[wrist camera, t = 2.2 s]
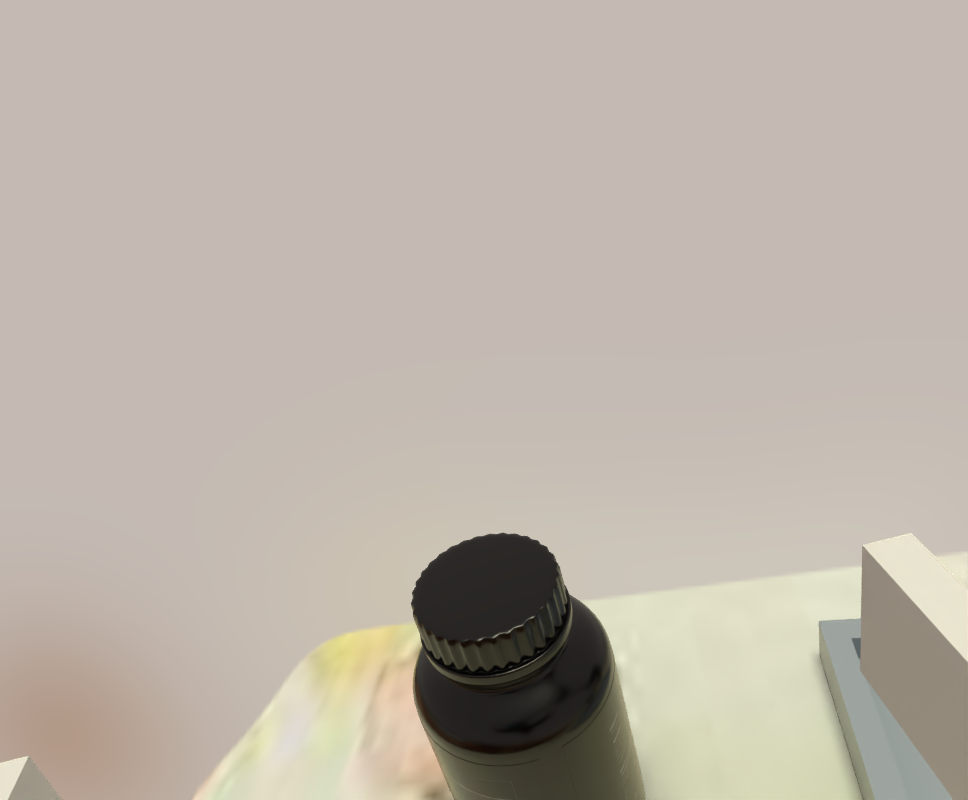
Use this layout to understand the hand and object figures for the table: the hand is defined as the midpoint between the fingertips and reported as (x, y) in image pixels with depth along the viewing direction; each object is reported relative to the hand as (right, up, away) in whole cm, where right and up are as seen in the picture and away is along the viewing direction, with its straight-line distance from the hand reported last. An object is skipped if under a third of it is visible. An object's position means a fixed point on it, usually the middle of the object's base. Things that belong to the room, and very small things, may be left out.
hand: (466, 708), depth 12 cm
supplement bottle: (+3, -11, +17) cm, 21 cm away
